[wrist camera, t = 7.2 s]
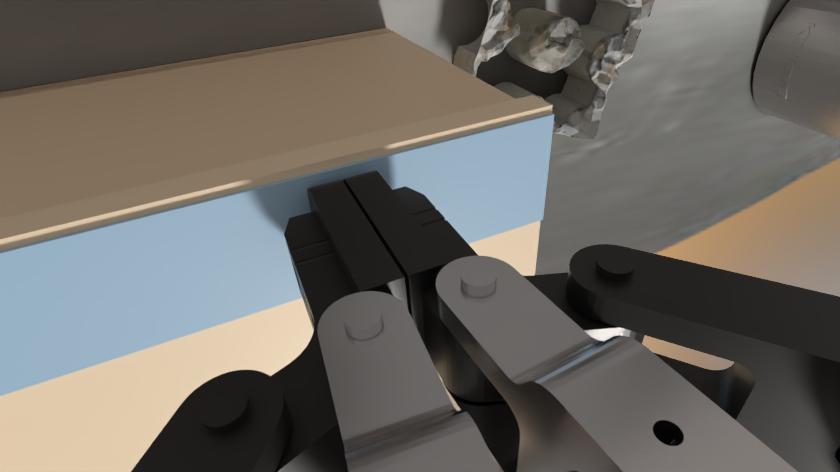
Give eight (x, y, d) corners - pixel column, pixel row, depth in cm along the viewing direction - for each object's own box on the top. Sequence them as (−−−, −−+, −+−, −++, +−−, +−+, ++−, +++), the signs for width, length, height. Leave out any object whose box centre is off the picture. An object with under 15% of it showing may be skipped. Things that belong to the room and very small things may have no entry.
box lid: (532, 94, 12) (555, 106, 11) (504, 451, 22) (515, 469, 21) (-404, 312, 7) (-464, 355, 6) (94, 649, 17) (91, 681, 16)
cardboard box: (386, 27, 19) (525, 104, 12) (413, 312, 29) (500, 453, 21) (-105, 109, 15) (-372, 317, 7) (118, 418, 24) (100, 646, 17)
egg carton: (521, -194, 18) (599, -215, 15) (649, -105, 21) (732, -107, 18) (427, 92, 22) (471, 123, 19) (547, 124, 26) (600, 153, 23)
